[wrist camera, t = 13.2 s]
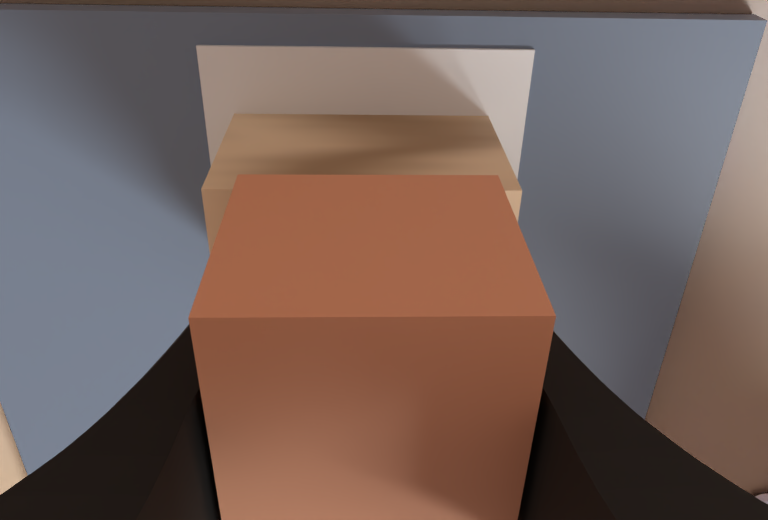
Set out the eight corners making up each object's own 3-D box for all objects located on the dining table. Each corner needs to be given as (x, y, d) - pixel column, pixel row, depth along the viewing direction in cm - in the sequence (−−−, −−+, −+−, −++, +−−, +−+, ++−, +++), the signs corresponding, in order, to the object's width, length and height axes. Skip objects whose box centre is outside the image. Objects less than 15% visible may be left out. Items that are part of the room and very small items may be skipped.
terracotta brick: (237, 174, 12) (188, 317, 8) (497, 174, 12) (556, 316, 8) (263, 430, 15) (236, 610, 11) (468, 428, 15) (501, 604, 11)
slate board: (754, 14, 16) (769, 21, 15) (600, 534, 26) (606, 550, 25) (-130, 1, 15) (-151, 8, 15) (63, 542, 25) (57, 559, 25)
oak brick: (488, 115, 16) (522, 190, 13) (471, 271, 19) (497, 368, 15) (233, 113, 16) (200, 189, 13) (249, 271, 18) (225, 369, 15)
